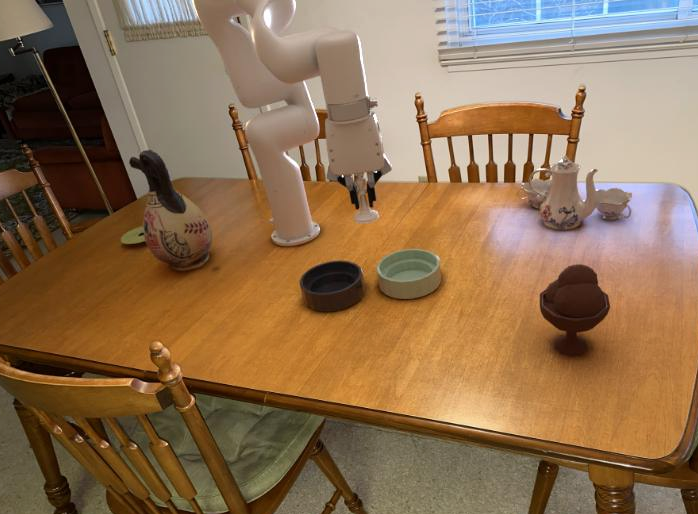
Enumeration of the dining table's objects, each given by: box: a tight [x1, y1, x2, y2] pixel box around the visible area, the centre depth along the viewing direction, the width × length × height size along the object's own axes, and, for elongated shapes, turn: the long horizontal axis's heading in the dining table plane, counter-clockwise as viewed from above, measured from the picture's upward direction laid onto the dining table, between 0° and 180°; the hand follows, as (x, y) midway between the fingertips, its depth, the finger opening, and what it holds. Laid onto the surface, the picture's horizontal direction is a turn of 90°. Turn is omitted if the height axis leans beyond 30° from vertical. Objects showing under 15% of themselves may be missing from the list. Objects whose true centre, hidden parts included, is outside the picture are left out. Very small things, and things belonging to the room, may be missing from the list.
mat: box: [120, 225, 146, 245], centre depth 154 cm, size 11×11×2 cm
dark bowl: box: [299, 260, 366, 312], centre depth 116 cm, size 13×13×4 cm
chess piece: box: [353, 173, 380, 225], centre depth 105 cm, size 5×5×10 cm
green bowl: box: [375, 248, 442, 300], centre depth 116 cm, size 13×13×4 cm
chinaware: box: [516, 155, 633, 231], centre depth 128 cm, size 28×17×17 cm, turn 58°
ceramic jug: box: [128, 149, 213, 272], centre depth 130 cm, size 17×15×30 cm
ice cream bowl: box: [539, 263, 611, 357], centre depth 90 cm, size 11×11×15 cm
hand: (364, 205), depth 107 cm, fingers closed on chess piece
